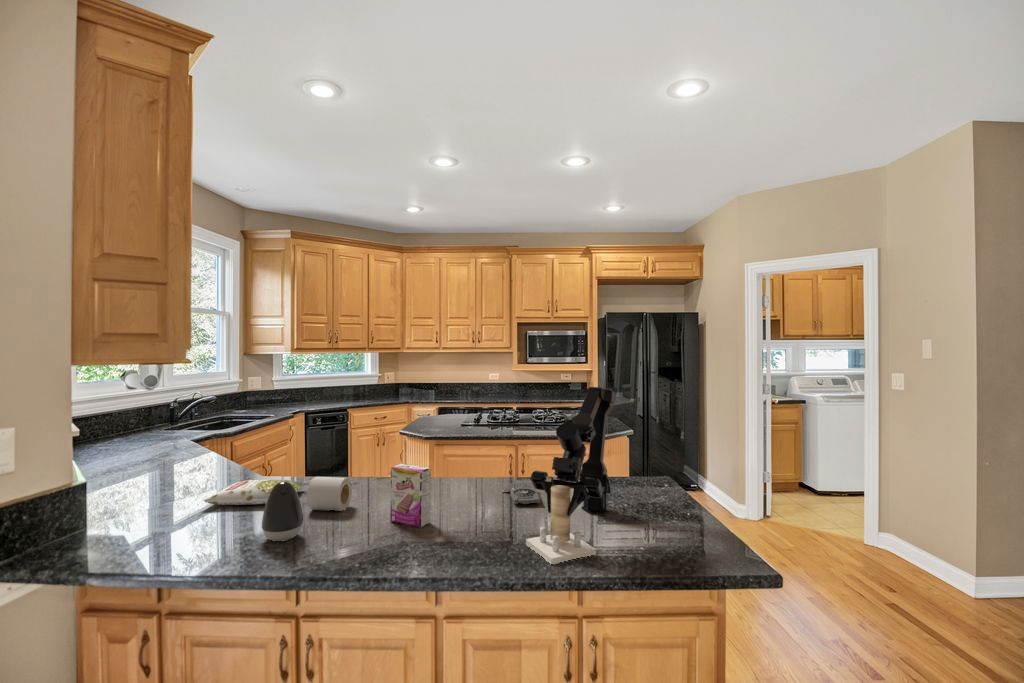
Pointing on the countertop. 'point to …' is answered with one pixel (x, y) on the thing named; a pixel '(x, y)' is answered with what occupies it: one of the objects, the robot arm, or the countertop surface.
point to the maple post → (560, 512)
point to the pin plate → (560, 547)
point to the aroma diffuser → (282, 513)
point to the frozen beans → (247, 492)
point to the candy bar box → (410, 495)
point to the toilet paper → (329, 493)
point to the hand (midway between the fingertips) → (558, 513)
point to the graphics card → (522, 493)
